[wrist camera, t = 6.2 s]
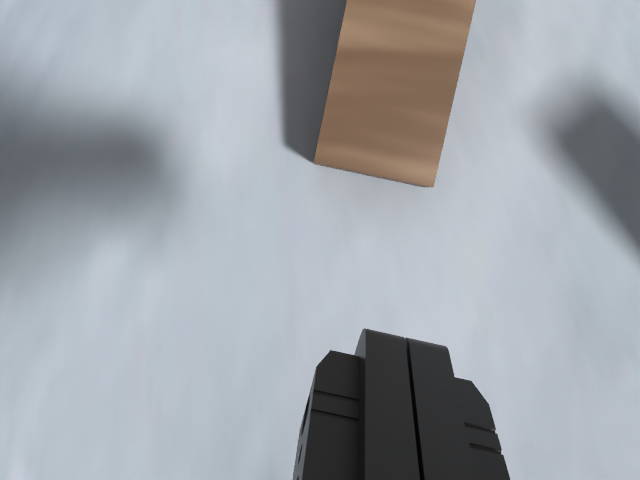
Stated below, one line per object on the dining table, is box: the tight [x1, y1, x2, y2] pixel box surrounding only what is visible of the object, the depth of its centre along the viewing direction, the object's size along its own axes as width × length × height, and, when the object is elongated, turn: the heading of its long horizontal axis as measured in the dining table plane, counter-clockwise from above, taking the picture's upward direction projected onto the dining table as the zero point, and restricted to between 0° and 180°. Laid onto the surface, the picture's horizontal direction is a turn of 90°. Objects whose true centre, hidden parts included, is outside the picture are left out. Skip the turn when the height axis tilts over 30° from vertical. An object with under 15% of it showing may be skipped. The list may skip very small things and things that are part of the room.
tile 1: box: [314, 0, 476, 187], centre depth 23 cm, size 2×5×10 cm
